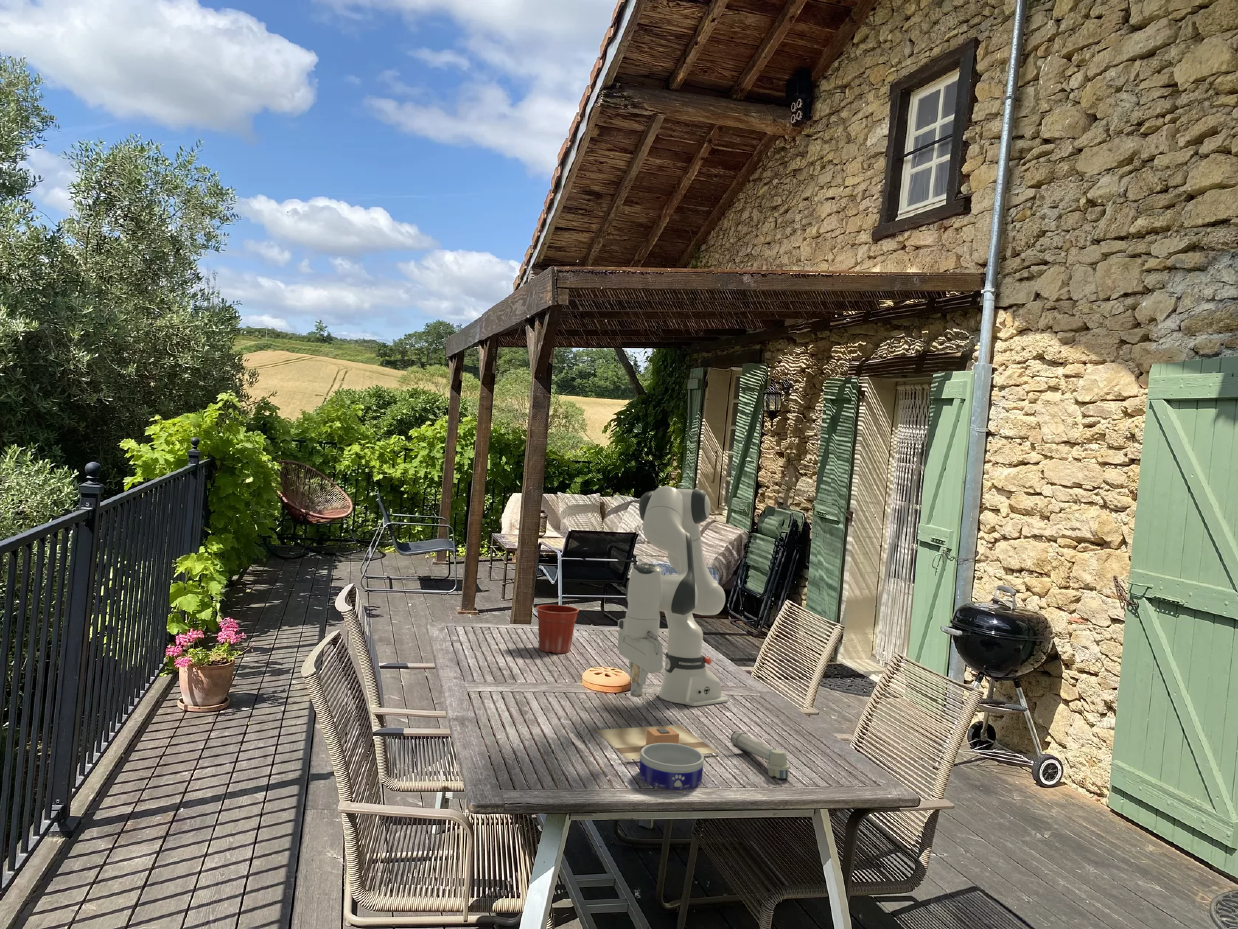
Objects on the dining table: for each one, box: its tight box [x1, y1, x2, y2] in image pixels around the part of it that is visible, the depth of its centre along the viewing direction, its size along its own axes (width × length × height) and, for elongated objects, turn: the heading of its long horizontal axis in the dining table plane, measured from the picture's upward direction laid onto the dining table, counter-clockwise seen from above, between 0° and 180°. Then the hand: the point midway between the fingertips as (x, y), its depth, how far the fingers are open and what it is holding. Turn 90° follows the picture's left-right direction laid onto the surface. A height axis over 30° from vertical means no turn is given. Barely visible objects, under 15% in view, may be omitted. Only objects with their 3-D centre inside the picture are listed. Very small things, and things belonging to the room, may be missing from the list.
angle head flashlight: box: [730, 731, 791, 779], centre depth 217 cm, size 5×7×25 cm
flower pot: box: [535, 604, 580, 654], centre depth 321 cm, size 16×16×16 cm
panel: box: [595, 724, 719, 765], centre depth 223 cm, size 26×22×1 cm
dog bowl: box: [639, 743, 705, 791], centre depth 201 cm, size 15×15×6 cm
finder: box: [646, 728, 679, 745], centre depth 219 cm, size 7×5×4 cm
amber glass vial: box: [629, 663, 644, 698], centre depth 214 cm, size 3×3×9 cm
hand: (637, 681), depth 215 cm, fingers closed on amber glass vial, 3 cm apart
